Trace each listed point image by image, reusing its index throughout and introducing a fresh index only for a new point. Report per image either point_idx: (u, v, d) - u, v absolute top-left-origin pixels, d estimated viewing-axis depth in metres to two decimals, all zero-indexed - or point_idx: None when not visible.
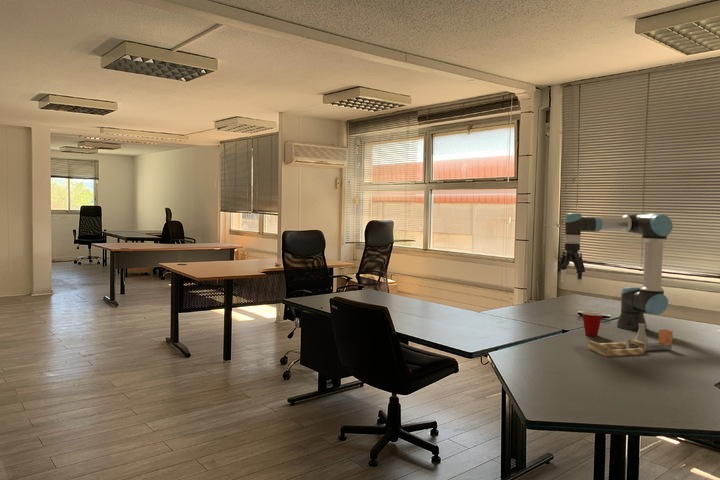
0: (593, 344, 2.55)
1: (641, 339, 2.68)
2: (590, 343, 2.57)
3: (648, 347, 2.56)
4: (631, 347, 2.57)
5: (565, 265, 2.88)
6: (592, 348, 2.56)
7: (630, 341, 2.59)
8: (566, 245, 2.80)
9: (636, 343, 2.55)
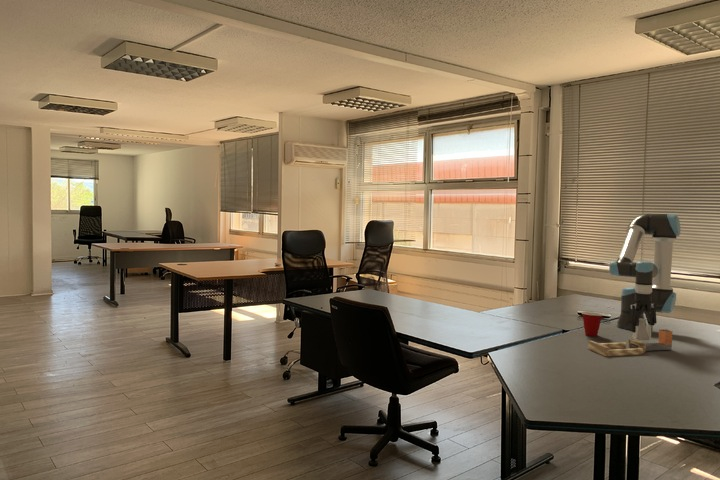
0: (593, 344, 2.55)
1: (642, 334, 2.68)
2: (590, 343, 2.57)
3: (648, 347, 2.56)
4: (631, 347, 2.57)
5: (648, 318, 2.71)
6: (592, 348, 2.56)
7: (630, 341, 2.59)
8: None
9: (636, 343, 2.55)
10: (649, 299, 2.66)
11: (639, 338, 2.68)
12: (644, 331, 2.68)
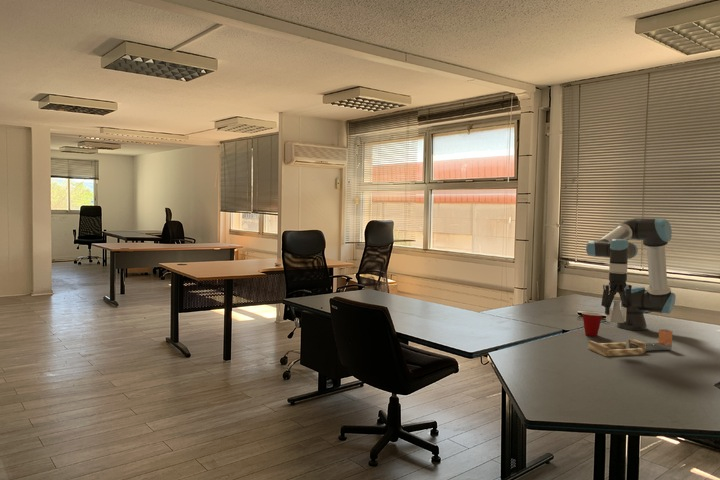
0: (593, 344, 2.55)
1: (616, 316, 2.51)
2: (590, 343, 2.57)
3: (648, 347, 2.56)
4: (631, 347, 2.57)
5: (622, 300, 2.54)
6: (592, 348, 2.56)
7: (630, 341, 2.59)
8: None
9: (636, 343, 2.55)
10: (624, 279, 2.49)
11: (613, 321, 2.51)
12: (618, 313, 2.51)
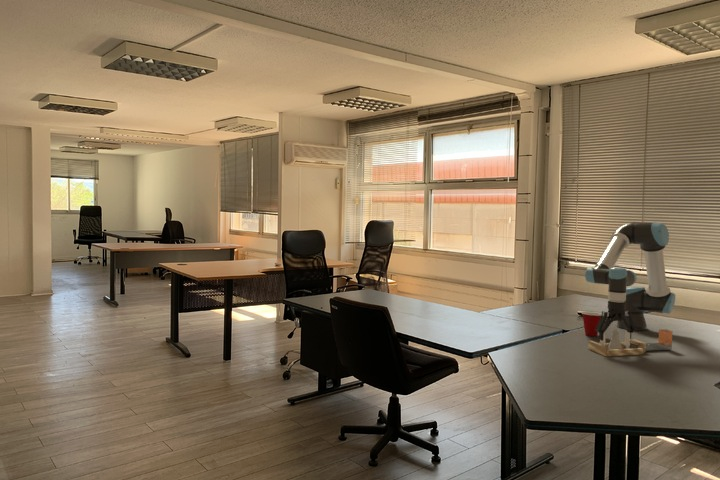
0: (593, 344, 2.55)
1: (615, 346, 2.52)
2: (590, 343, 2.57)
3: (648, 347, 2.56)
4: (631, 347, 2.57)
5: (625, 326, 2.55)
6: (592, 348, 2.56)
7: (630, 341, 2.59)
8: None
9: (636, 343, 2.55)
10: (622, 308, 2.50)
11: None
12: (617, 343, 2.52)
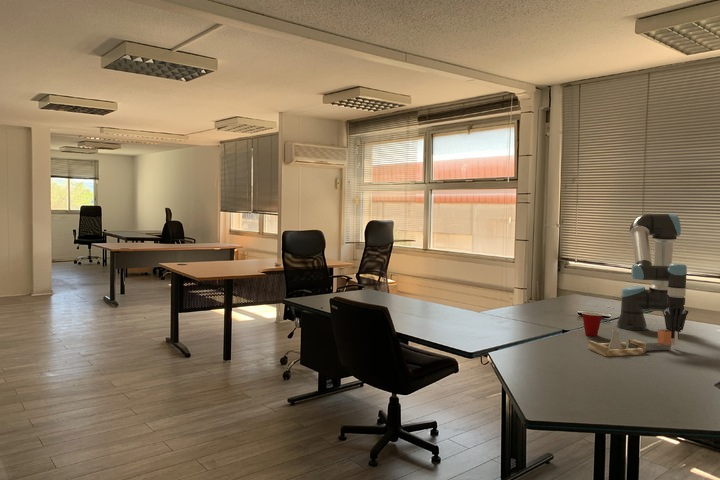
0: (593, 344, 2.55)
1: (615, 346, 2.52)
2: (590, 343, 2.57)
3: (647, 347, 2.56)
4: (630, 347, 2.57)
5: None
6: (592, 348, 2.56)
7: (630, 341, 2.59)
8: None
9: (636, 343, 2.55)
10: (682, 303, 2.57)
11: None
12: (617, 343, 2.52)
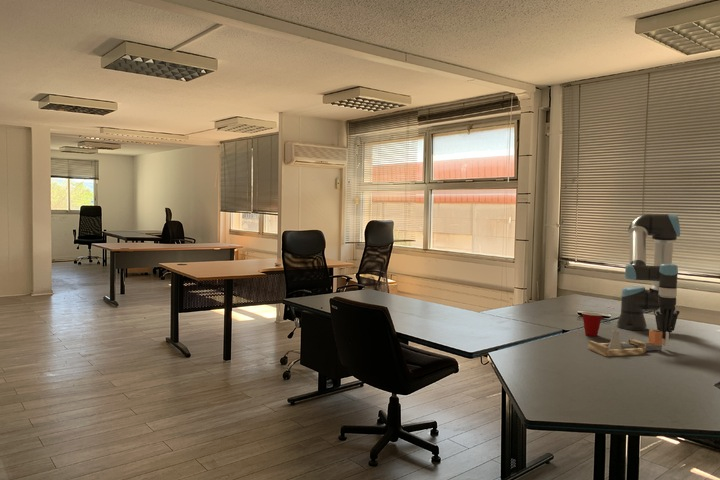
0: (593, 344, 2.55)
1: (615, 346, 2.52)
2: (590, 343, 2.57)
3: None
4: None
5: None
6: (592, 348, 2.56)
7: (630, 341, 2.59)
8: None
9: (636, 343, 2.55)
10: (673, 303, 2.56)
11: None
12: (617, 343, 2.52)
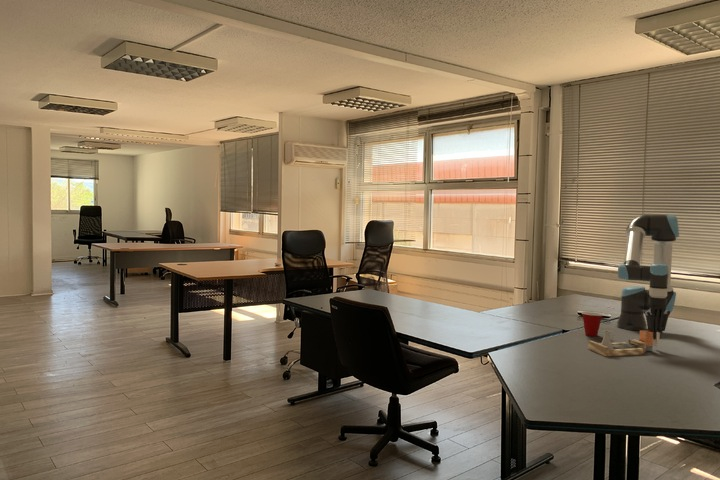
0: (593, 344, 2.55)
1: None
2: (590, 343, 2.57)
3: (628, 348, 2.54)
4: None
5: (657, 325, 2.59)
6: (592, 348, 2.56)
7: (630, 341, 2.59)
8: None
9: (636, 343, 2.55)
10: (664, 303, 2.54)
11: None
12: (609, 344, 2.51)
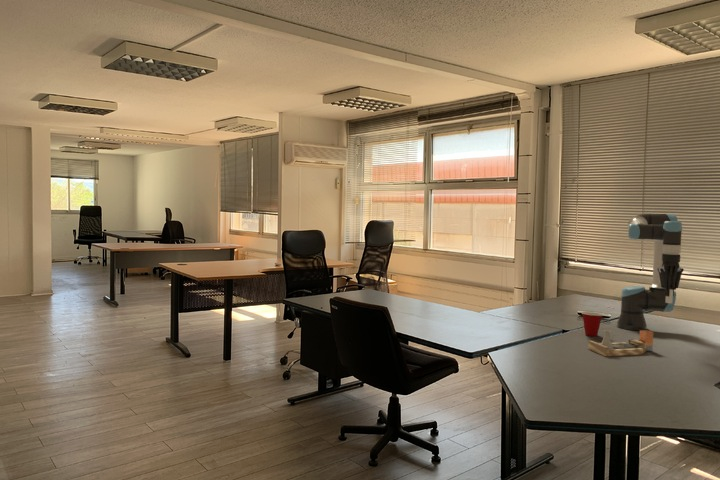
0: (593, 344, 2.55)
1: None
2: (590, 343, 2.57)
3: (628, 348, 2.54)
4: None
5: None
6: (592, 348, 2.56)
7: (630, 341, 2.59)
8: None
9: (636, 343, 2.55)
10: (677, 260, 2.55)
11: None
12: (609, 344, 2.51)
